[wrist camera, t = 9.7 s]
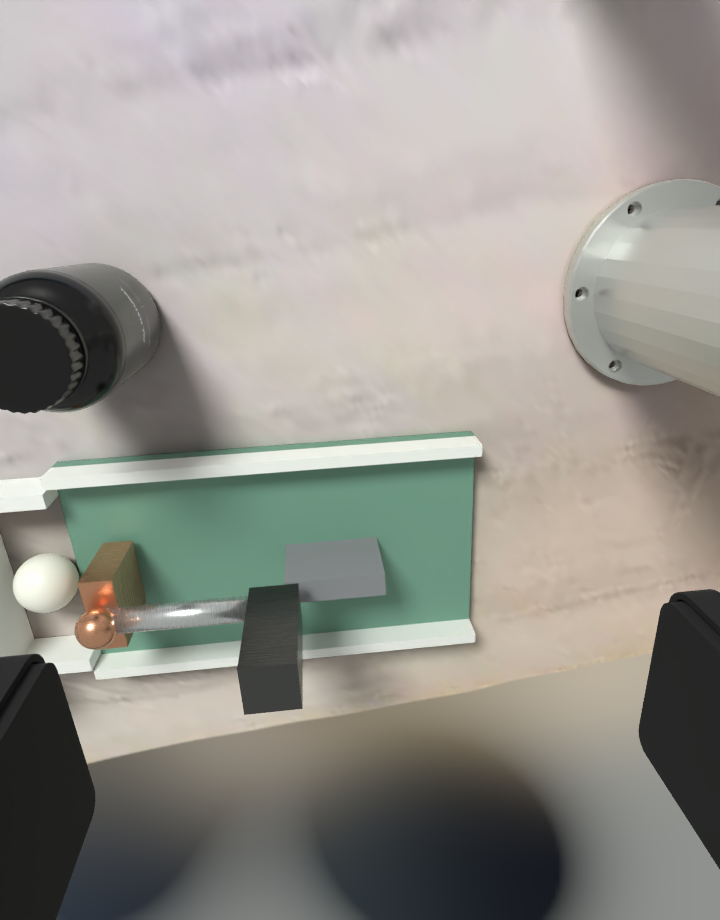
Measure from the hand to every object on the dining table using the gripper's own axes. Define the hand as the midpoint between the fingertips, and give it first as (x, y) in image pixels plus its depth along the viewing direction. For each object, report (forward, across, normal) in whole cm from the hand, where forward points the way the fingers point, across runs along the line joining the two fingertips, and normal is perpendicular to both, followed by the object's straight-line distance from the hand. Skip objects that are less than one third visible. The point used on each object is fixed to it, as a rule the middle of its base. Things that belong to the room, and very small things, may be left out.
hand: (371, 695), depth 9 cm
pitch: (+30, +7, +15) cm, 35 cm away
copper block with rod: (+29, +9, +15) cm, 34 cm away
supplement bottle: (+31, +13, -2) cm, 33 cm away
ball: (+28, +20, +15) cm, 38 cm away
